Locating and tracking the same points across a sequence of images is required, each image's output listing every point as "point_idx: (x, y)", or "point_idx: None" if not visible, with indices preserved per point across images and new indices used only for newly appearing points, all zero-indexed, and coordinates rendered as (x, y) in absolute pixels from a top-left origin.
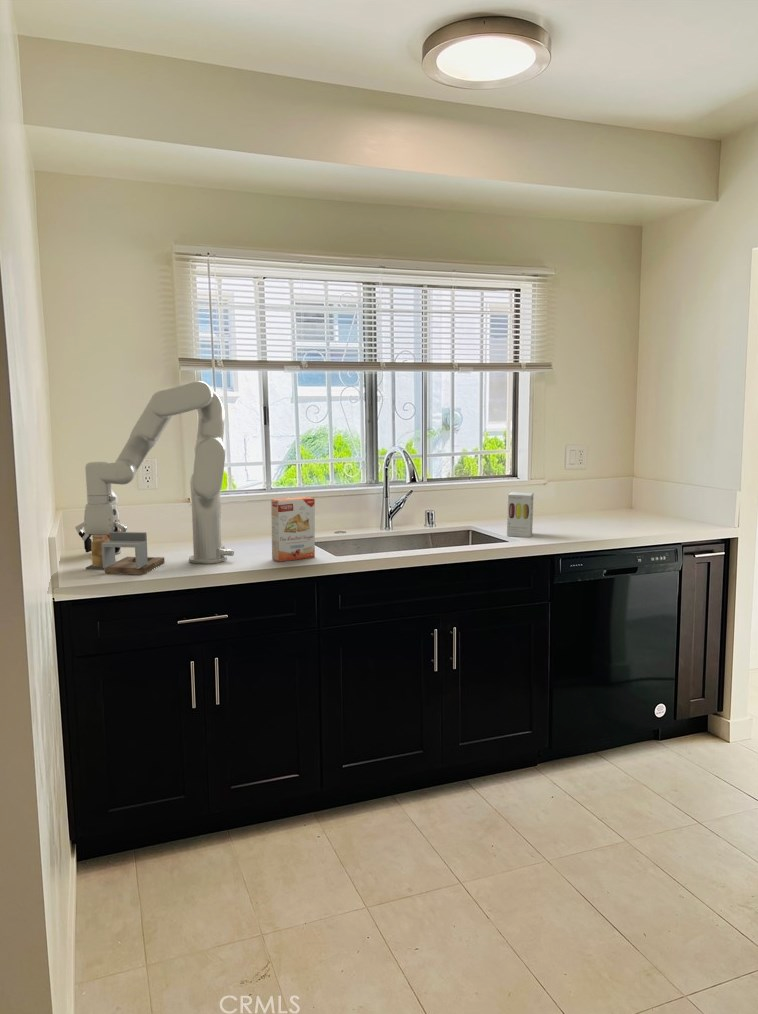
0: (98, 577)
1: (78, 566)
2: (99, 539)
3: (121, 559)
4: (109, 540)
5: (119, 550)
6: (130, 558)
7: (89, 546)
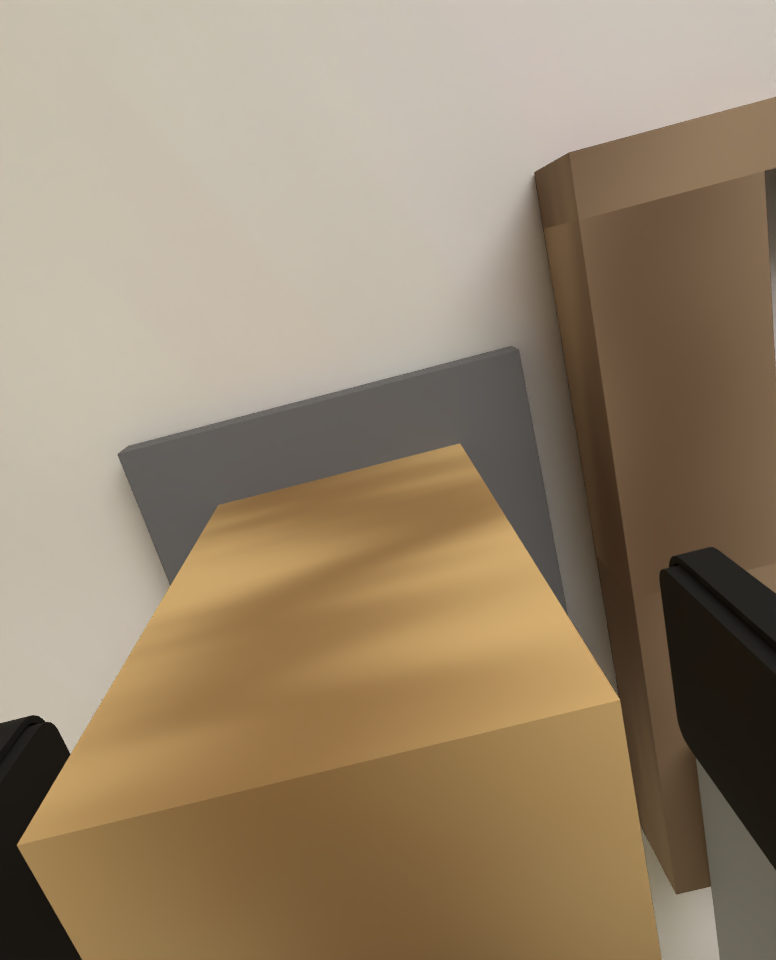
0: (680, 957)
1: (8, 671)
2: (62, 837)
3: (617, 429)
4: (591, 852)
5: (714, 548)
6: (738, 293)
7: (38, 905)
